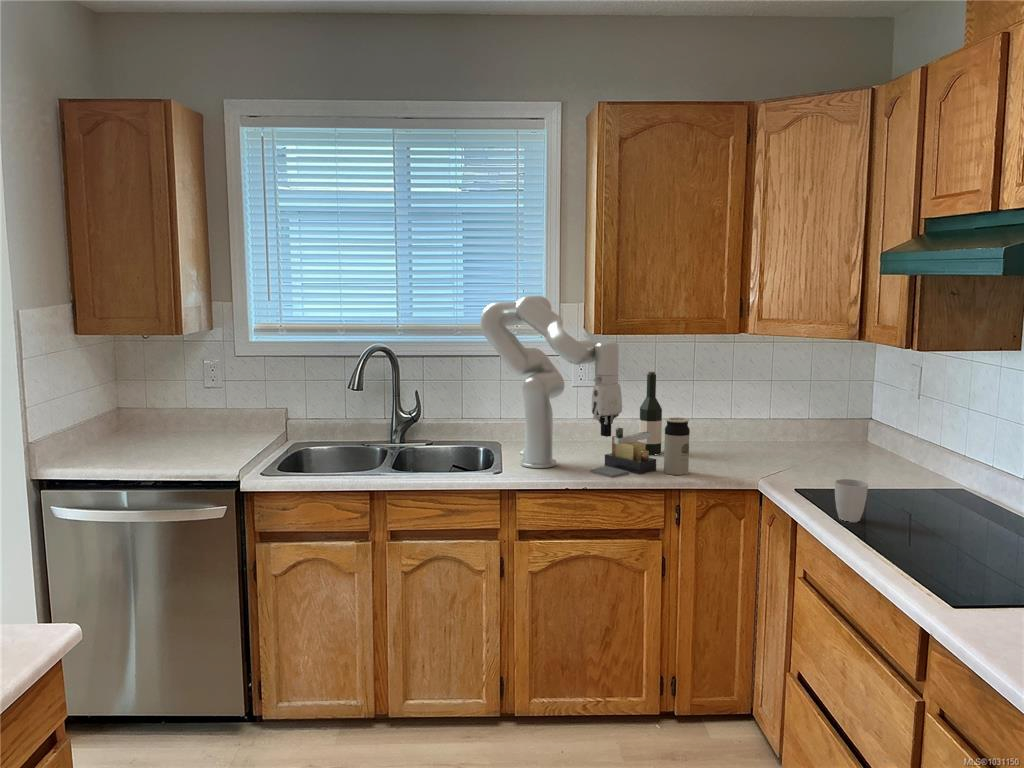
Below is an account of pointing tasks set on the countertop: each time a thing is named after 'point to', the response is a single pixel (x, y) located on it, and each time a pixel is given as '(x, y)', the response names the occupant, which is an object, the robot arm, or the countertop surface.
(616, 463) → the dark slate base plate
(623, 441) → the bar
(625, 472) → the rubber mat
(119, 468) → the countertop surface
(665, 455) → the travel mug
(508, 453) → the countertop surface
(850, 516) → the cup
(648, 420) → the wine bottle
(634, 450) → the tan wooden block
